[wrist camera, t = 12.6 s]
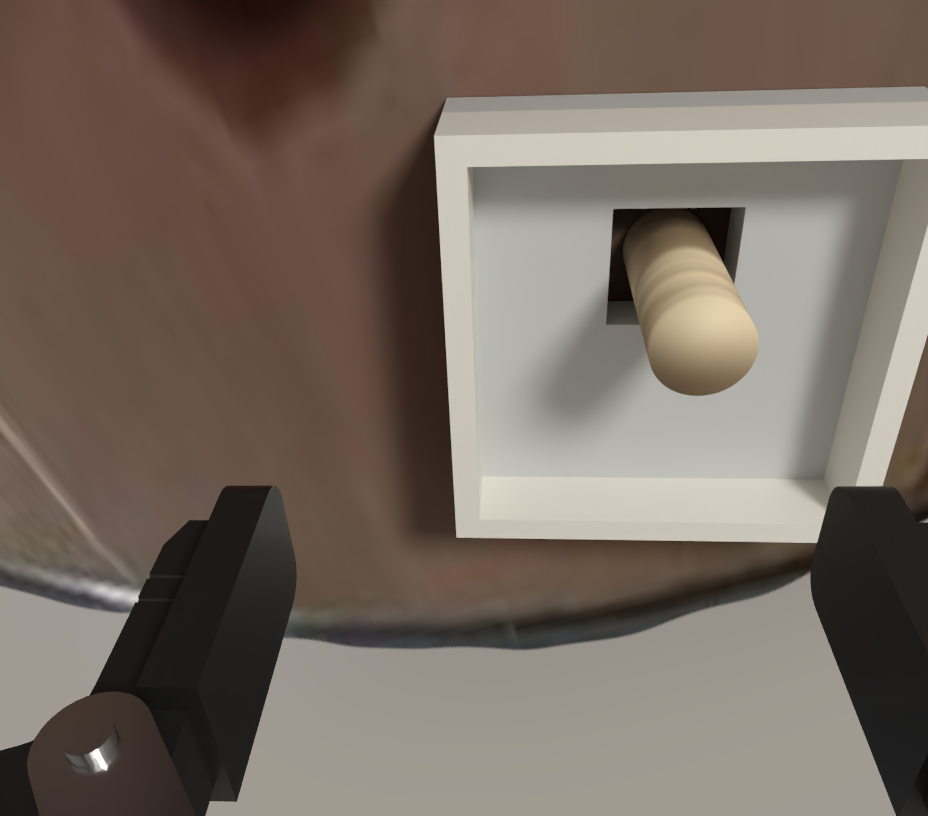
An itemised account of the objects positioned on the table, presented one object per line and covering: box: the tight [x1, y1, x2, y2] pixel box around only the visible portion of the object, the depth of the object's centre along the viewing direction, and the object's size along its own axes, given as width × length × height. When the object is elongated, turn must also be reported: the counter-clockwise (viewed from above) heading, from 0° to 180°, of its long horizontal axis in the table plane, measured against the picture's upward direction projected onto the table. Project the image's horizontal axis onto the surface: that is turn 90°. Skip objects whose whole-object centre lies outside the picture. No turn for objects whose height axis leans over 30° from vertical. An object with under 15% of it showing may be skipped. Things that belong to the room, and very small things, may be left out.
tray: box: [434, 87, 928, 543], centre depth 39 cm, size 20×20×6 cm
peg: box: [622, 208, 759, 396], centre depth 35 cm, size 4×4×10 cm
